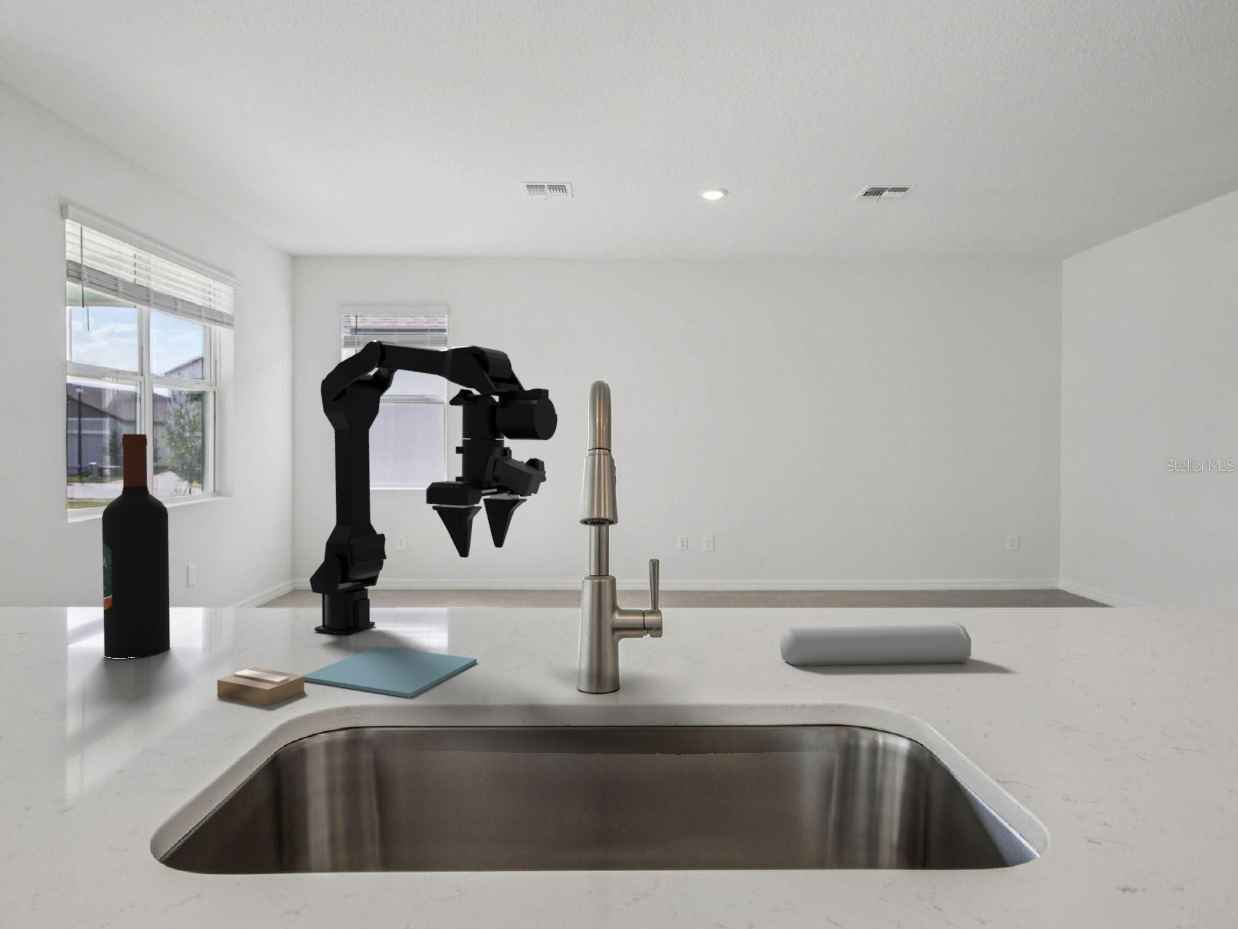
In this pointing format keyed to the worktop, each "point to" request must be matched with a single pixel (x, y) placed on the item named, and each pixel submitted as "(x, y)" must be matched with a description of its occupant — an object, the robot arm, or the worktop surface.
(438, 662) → the mat
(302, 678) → the brown cardboard box
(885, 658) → the tube
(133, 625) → the wine bottle
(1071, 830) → the worktop surface
